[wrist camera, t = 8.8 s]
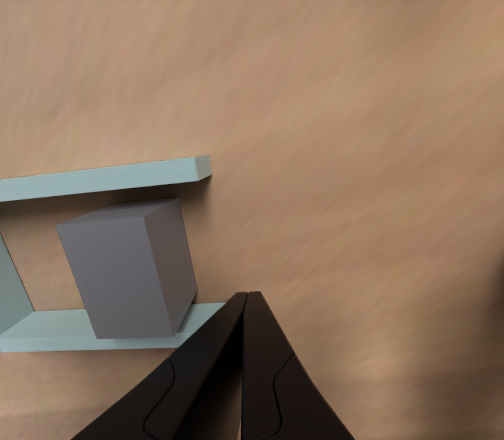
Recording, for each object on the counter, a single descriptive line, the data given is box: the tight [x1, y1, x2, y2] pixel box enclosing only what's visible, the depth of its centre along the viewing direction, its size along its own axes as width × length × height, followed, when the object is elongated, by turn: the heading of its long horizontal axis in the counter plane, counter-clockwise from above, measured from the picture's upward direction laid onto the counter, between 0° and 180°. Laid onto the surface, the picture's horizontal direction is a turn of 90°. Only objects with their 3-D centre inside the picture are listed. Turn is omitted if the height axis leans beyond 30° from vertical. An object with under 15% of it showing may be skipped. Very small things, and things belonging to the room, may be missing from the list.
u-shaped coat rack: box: [0, 155, 226, 352], centre depth 13 cm, size 15×10×3 cm, turn 97°
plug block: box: [55, 198, 198, 339], centre depth 13 cm, size 4×6×4 cm
